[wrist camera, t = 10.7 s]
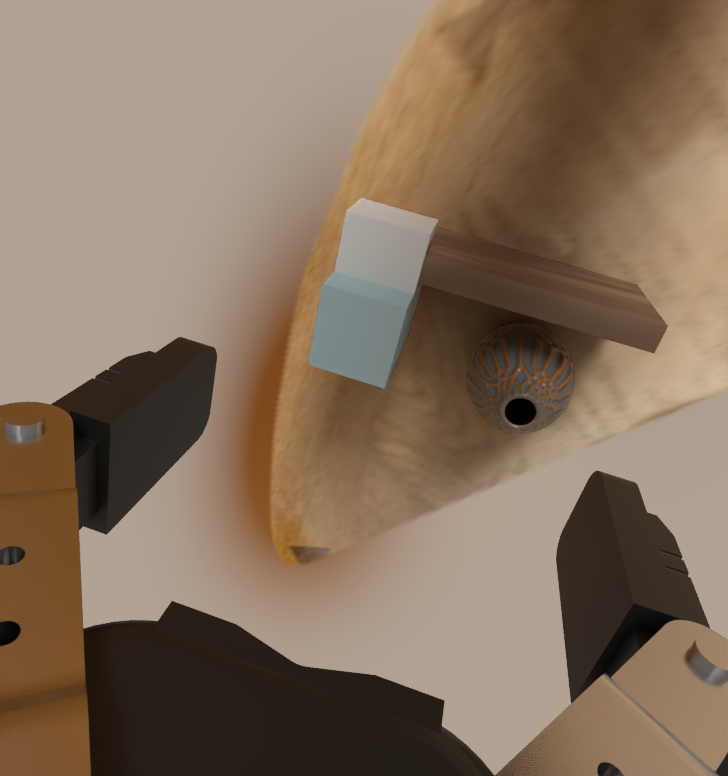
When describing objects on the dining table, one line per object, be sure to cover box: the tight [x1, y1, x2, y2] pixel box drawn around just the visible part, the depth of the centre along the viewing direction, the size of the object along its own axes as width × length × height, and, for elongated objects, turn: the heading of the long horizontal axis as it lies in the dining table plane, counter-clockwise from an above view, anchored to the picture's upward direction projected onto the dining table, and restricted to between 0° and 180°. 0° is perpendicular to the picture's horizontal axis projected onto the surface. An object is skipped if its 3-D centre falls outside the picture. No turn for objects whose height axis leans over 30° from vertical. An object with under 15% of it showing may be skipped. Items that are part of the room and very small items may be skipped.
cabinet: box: [308, 198, 438, 389], centre depth 35 cm, size 9×5×8 cm, turn 165°
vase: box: [466, 323, 575, 434], centre depth 38 cm, size 7×7×9 cm
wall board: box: [418, 227, 668, 353], centre depth 36 cm, size 2×17×8 cm, turn 75°
